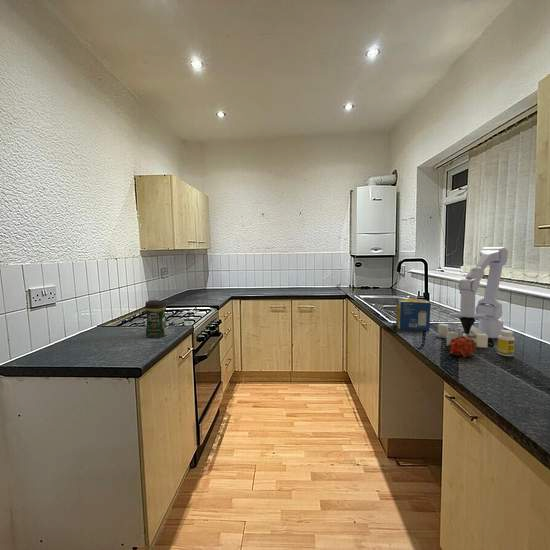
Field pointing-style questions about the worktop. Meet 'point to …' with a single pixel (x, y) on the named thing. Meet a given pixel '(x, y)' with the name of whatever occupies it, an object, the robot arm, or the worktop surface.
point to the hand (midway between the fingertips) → (466, 333)
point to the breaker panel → (476, 336)
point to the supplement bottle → (506, 343)
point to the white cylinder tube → (442, 330)
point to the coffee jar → (155, 319)
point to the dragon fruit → (462, 346)
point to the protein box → (413, 314)
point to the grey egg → (451, 336)
